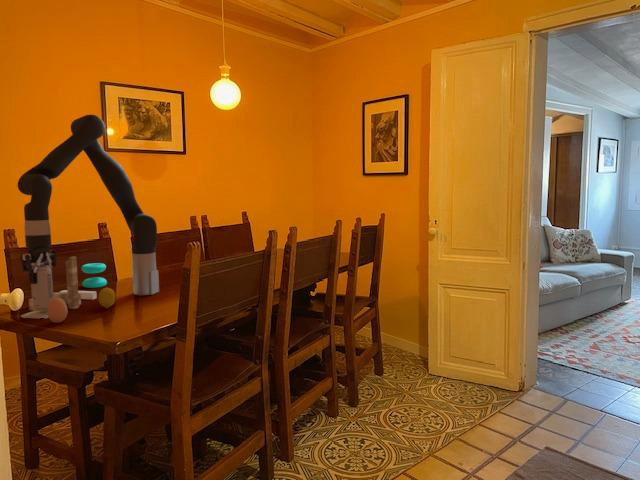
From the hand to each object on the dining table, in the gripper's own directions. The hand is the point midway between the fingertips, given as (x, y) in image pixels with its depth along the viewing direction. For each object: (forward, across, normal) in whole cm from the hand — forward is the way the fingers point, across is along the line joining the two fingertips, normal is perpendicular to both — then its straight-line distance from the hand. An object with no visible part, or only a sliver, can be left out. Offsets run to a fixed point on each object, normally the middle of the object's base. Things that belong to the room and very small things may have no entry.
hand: (41, 281), depth 155 cm
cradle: (+12, +10, +3) cm, 16 cm away
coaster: (+12, 0, 0) cm, 12 cm away
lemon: (+12, +11, -17) cm, 23 cm away
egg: (+12, -8, -12) cm, 19 cm away
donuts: (+12, +46, +12) cm, 49 cm away
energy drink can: (+10, 0, 0) cm, 10 cm away
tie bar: (+12, +24, +4) cm, 27 cm away
